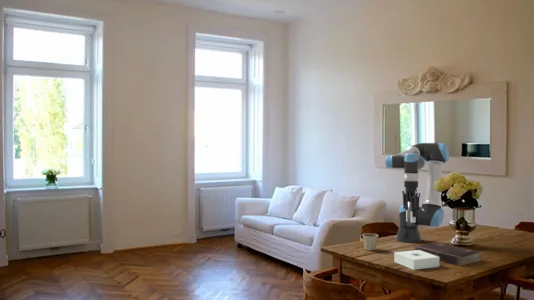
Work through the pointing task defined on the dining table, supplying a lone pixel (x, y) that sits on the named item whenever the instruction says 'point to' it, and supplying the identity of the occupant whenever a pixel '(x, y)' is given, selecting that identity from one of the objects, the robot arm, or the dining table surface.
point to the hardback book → (451, 253)
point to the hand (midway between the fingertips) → (410, 221)
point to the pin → (409, 215)
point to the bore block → (416, 259)
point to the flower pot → (370, 241)
